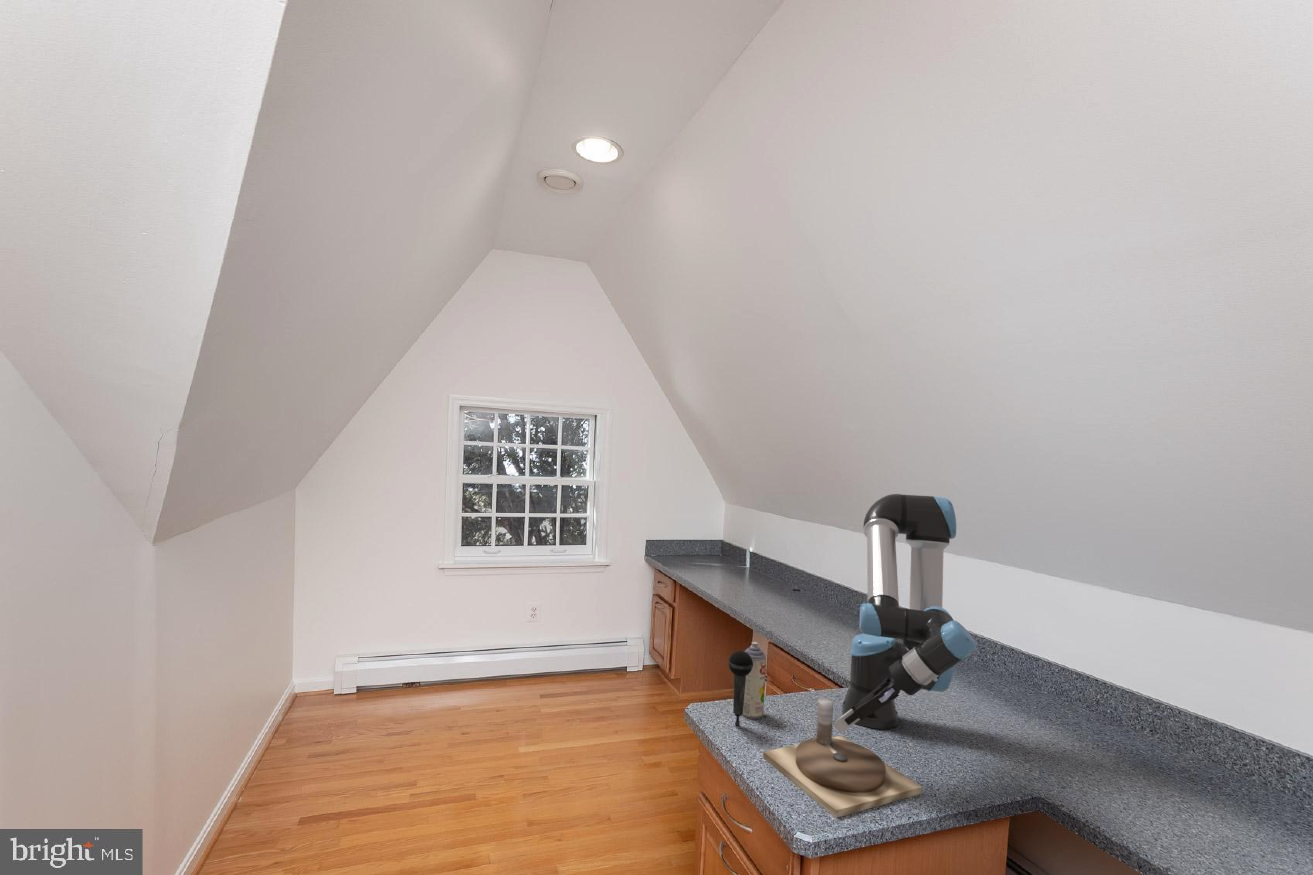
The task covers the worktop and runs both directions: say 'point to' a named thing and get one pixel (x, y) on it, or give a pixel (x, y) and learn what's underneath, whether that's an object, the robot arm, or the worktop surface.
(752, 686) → the aerosol can
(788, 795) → the worktop surface
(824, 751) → the dial
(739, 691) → the microphone
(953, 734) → the worktop surface
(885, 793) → the stand plate
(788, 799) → the worktop surface
